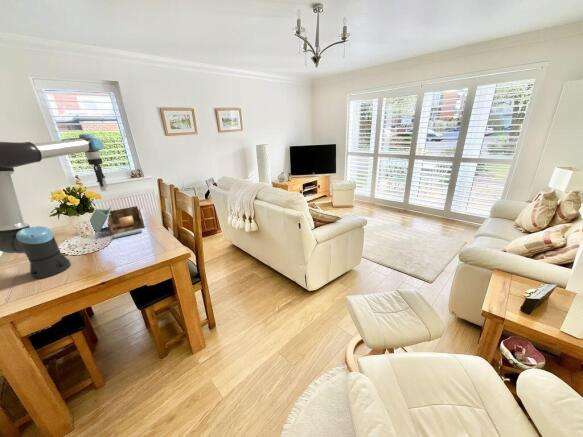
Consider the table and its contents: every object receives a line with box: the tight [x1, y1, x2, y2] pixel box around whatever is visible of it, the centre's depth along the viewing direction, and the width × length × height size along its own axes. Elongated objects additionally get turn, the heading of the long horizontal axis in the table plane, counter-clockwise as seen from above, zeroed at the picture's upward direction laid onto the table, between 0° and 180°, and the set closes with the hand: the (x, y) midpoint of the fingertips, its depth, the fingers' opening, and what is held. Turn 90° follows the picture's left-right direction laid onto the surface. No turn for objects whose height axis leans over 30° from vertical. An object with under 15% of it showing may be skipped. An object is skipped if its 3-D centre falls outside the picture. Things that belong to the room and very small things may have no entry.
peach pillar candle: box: [119, 216, 135, 227], centre depth 172 cm, size 8×7×7 cm
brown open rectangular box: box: [107, 205, 146, 236], centre depth 172 cm, size 20×22×12 cm
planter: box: [89, 205, 113, 233], centre depth 171 cm, size 16×8×20 cm
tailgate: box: [113, 228, 143, 239], centre depth 162 cm, size 16×1×8 cm
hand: (104, 189), depth 167 cm, fingers open, 13 cm apart
